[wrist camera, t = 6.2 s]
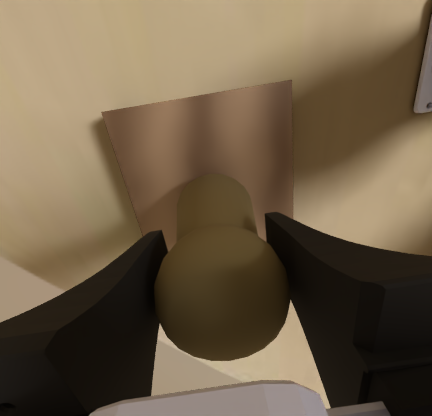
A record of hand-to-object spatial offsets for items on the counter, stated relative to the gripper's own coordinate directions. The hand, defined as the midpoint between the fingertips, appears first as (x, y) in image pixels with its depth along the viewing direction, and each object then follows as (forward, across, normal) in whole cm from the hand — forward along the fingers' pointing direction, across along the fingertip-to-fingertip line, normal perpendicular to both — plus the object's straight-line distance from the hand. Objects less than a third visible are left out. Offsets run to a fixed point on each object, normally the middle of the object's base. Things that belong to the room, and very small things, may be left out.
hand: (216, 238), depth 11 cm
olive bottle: (+6, 0, +1) cm, 7 cm away
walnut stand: (+10, 0, 0) cm, 10 cm away
